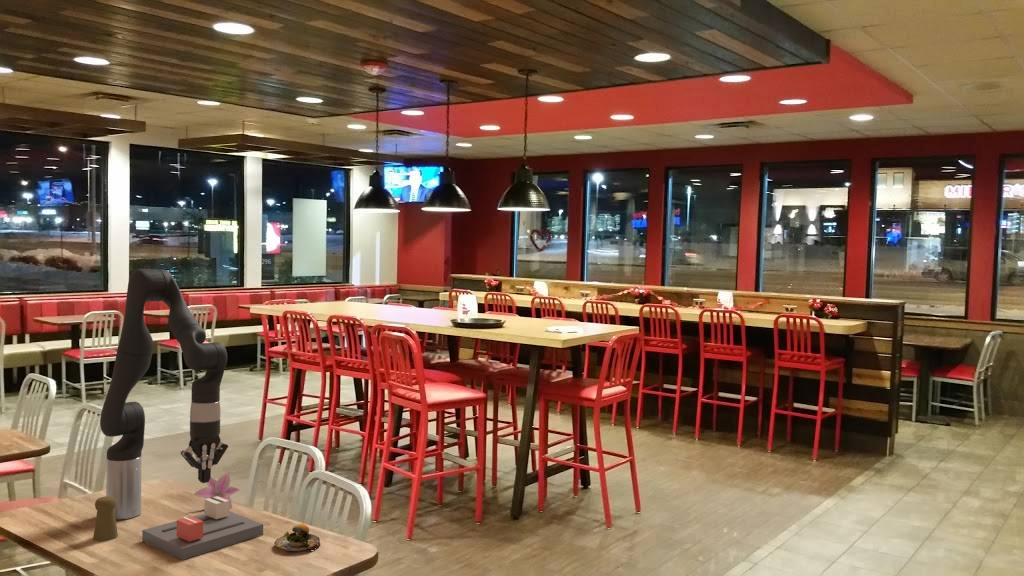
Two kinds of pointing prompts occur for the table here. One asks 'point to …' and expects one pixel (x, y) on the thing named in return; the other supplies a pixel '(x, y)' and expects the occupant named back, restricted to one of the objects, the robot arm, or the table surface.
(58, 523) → the table surface
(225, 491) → the lily
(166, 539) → the console
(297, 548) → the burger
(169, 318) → the robot arm
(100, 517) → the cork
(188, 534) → the block
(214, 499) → the block
